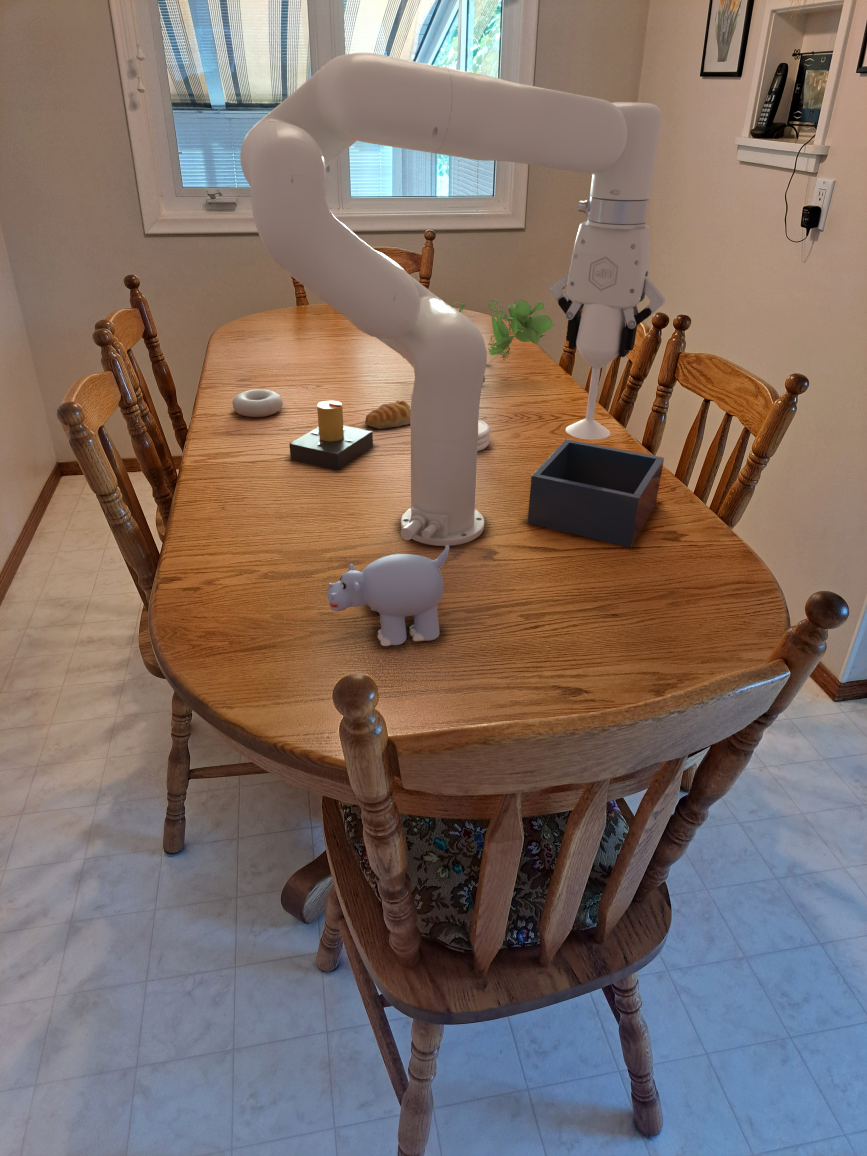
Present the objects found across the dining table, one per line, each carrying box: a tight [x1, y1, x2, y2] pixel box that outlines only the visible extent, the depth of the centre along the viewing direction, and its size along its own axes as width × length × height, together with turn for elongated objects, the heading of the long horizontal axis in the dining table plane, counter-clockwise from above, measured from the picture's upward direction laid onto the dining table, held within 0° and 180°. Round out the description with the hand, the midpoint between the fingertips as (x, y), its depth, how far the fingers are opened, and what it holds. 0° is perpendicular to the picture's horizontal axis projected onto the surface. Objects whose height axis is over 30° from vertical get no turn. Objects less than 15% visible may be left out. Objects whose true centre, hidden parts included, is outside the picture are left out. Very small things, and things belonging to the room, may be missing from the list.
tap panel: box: [288, 424, 374, 471], centre depth 140 cm, size 12×10×3 cm
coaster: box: [477, 419, 491, 452], centre depth 144 cm, size 10×10×4 cm
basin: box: [527, 439, 665, 548], centre depth 120 cm, size 16×16×8 cm
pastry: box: [364, 400, 411, 430], centre depth 153 cm, size 9×7×4 cm
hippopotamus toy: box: [326, 545, 451, 647], centre depth 94 cm, size 11×15×10 cm
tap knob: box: [316, 400, 344, 442], centre depth 138 cm, size 4×4×6 cm
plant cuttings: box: [402, 299, 555, 383], centre depth 174 cm, size 35×17×22 cm
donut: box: [232, 388, 283, 418], centre depth 158 cm, size 10×4×10 cm
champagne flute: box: [565, 304, 626, 441], centre depth 111 cm, size 7×7×24 cm
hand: (598, 349), depth 110 cm, fingers closed on champagne flute, 6 cm apart
